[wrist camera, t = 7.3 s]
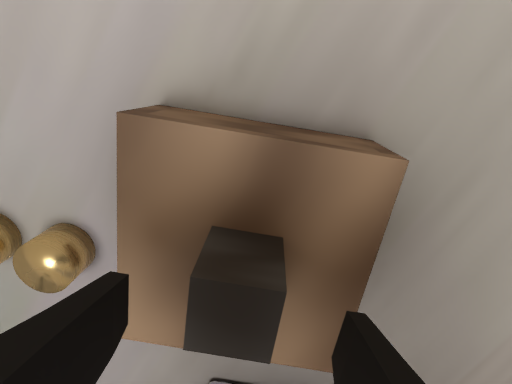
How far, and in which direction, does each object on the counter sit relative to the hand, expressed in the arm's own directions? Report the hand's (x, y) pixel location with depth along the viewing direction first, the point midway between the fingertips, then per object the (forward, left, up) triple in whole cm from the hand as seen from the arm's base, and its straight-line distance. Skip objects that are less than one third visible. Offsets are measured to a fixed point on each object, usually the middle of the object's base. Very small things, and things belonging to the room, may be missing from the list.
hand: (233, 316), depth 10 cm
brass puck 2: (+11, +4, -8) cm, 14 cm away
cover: (0, 0, -8) cm, 8 cm away
